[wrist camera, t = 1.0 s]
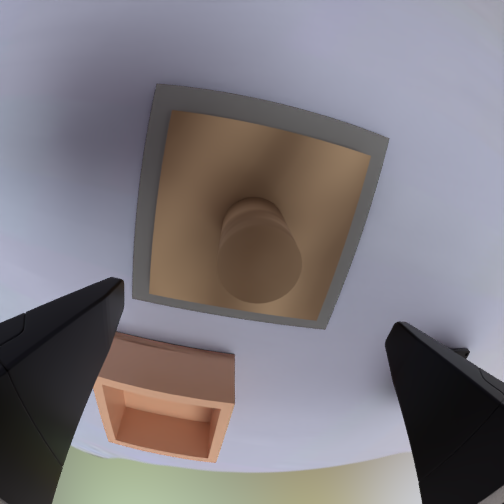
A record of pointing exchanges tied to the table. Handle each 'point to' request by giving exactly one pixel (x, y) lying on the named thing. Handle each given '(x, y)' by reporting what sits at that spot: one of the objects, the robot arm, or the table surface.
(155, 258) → the lid
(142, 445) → the dish
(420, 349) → the robot arm
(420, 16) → the table surface
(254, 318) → the mat
